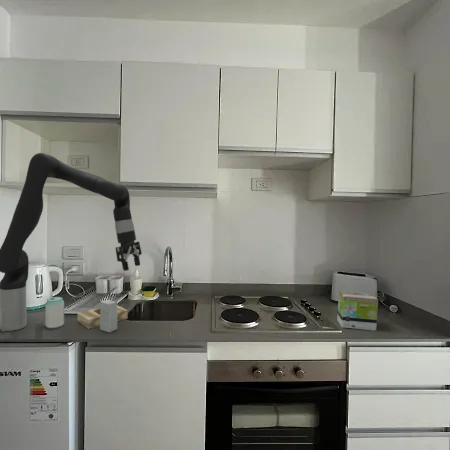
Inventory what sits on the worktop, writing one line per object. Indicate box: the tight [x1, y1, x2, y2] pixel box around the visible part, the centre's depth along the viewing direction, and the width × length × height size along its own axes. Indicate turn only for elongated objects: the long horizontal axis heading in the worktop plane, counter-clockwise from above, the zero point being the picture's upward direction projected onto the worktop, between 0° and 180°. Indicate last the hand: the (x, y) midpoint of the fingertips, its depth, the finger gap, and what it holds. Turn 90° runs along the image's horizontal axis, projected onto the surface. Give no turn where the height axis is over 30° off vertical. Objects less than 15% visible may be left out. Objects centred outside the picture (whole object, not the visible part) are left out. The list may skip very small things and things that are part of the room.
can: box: [44, 296, 65, 329], centre depth 131 cm, size 7×7×12 cm
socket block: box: [76, 304, 129, 330], centre depth 140 cm, size 18×12×4 cm, turn 136°
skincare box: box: [99, 299, 118, 333], centre depth 129 cm, size 6×4×12 cm
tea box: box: [336, 290, 379, 332], centre depth 141 cm, size 15×10×15 cm, turn 82°
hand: (132, 268), depth 131 cm, fingers open, 8 cm apart
